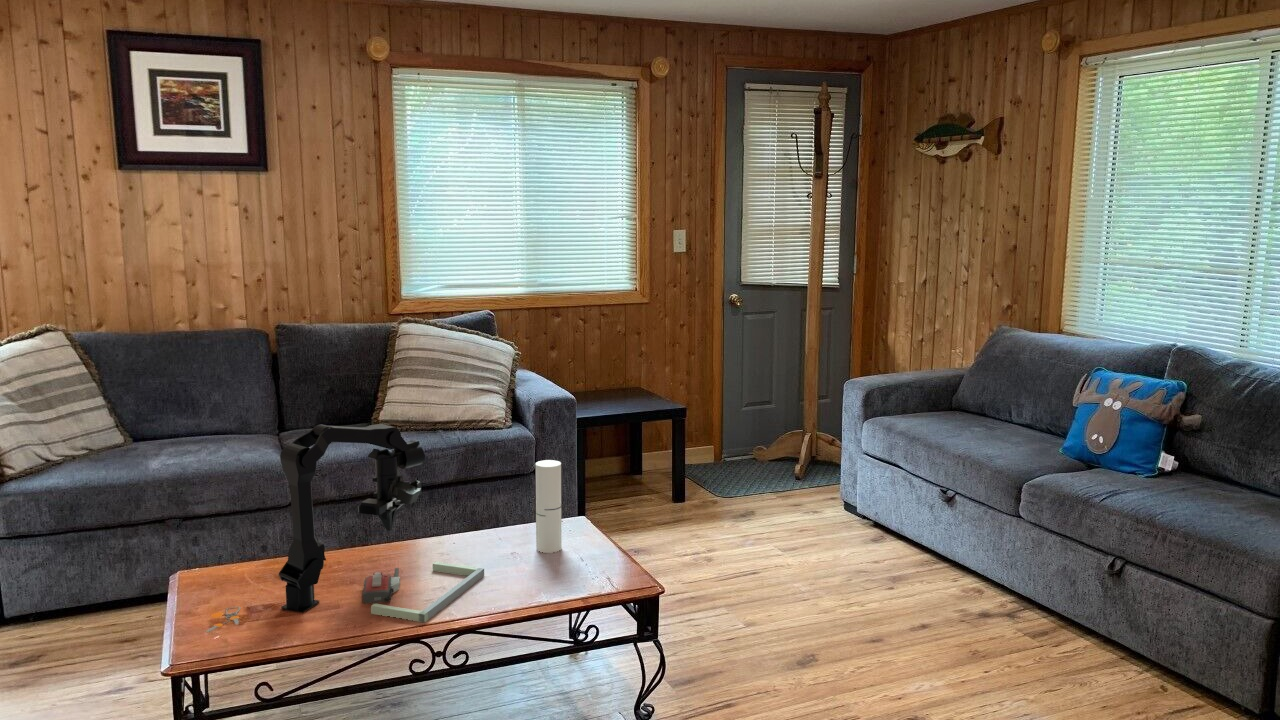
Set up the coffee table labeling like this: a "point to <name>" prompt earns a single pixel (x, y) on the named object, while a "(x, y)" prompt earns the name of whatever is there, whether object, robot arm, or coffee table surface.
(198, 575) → the coffee table surface
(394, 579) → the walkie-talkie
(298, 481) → the robot arm
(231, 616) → the key chain
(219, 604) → the coffee table surface
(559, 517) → the cylindrical container
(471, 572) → the green u-shaped bracket
